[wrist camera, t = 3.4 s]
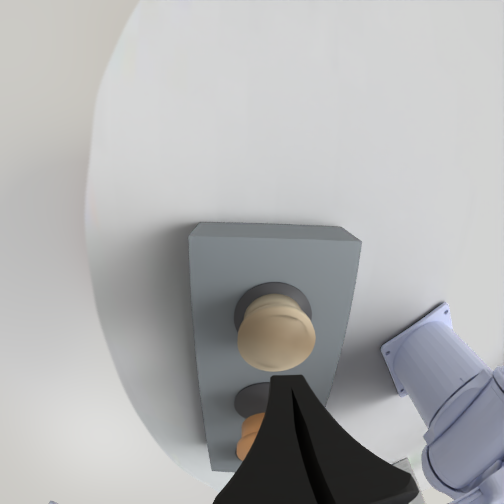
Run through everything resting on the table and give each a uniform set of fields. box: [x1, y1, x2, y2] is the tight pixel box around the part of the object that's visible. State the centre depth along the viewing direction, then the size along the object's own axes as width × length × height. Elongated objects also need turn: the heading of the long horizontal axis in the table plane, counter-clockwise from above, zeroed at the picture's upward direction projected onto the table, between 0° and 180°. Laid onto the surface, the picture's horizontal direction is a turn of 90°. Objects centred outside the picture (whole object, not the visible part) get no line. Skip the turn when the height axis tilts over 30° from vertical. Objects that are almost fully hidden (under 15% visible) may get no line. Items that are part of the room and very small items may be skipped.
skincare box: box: [393, 458, 426, 504], centre depth 25 cm, size 8×7×16 cm
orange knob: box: [237, 413, 265, 461], centre depth 16 cm, size 4×4×2 cm
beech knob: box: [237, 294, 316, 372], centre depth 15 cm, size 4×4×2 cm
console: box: [188, 222, 362, 472], centre depth 21 cm, size 26×10×4 cm, turn 178°
